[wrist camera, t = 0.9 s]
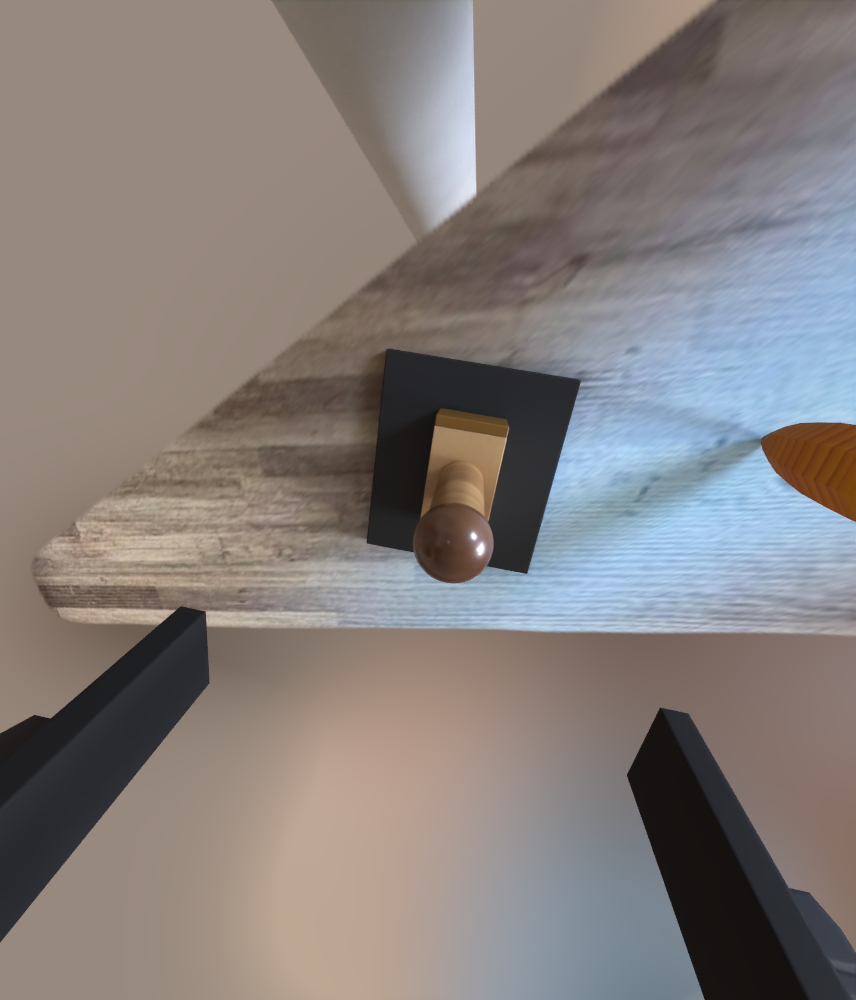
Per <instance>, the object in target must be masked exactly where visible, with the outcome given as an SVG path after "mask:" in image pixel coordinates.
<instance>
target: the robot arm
mask: <svg viewBox="0 0 856 1000" xmlns="http://www.w3.org/2000/svg"><path fill="white" fill-rule="evenodd" d="M208 684H209V665H208V646H207V628H206V612H205V611H200V610H196V609H191V608H186V607H179V608H178V609H177V610H176V611H175V612H174V613H173V614H171V615H170V616H169V617H168V618H167V619H166V620H164V621H163V622H162V623H161V624H160V625H159V626H158V627H156V628H155V629H154V630H153V631H152V632H151V633H150V634H148V635H147V636H146V637H145V638H144V639H143V640H141V641H140V642H139V643H138V644H137V645H136V646H134V647H133V648H132V649H131V650H130V651H129V652H127V653H126V654H125V655H124V656H123V657H122V658H120V659H119V660H118V661H117V662H116V663H115V664H114V665H112V666H111V667H110V668H109V669H108V670H107V671H105V672H104V673H103V674H102V675H101V676H100V677H99V678H97V679H96V680H95V681H94V682H93V683H92V684H90V685H89V686H88V687H87V688H86V689H85V690H83V691H82V692H81V693H80V694H79V695H78V696H77V697H75V698H74V699H73V700H72V701H71V702H70V703H68V704H67V705H66V706H65V707H64V708H63V709H61V710H60V711H59V712H58V713H57V714H56V715H54V716H53V717H52V718H51V719H50V718H45V717H41V716H36V715H34V716H32V717H30V718H28V719H26V720H24V721H23V722H21V723H19V724H17V725H15V726H13V727H12V728H10V729H8V730H6V731H4V732H2V733H0V942H1V941H2V940H3V938H4V937H5V936H6V934H7V933H8V932H9V931H10V930H11V928H12V927H13V926H14V925H15V923H16V922H17V921H18V920H19V919H20V917H21V916H22V915H23V914H24V912H25V911H26V910H27V909H28V907H29V906H30V905H31V904H32V902H33V901H34V900H35V899H36V897H37V896H38V895H39V894H40V892H41V891H42V890H43V889H44V888H45V886H46V885H47V884H48V883H49V881H50V880H51V879H52V878H53V876H54V875H55V874H56V873H57V871H58V870H59V869H60V868H61V866H62V865H63V864H64V863H65V861H66V860H67V859H68V858H69V857H70V855H71V854H72V853H73V851H74V850H75V849H76V848H77V847H78V845H79V844H80V843H81V841H82V840H83V839H84V838H85V837H86V835H87V834H88V833H89V832H90V830H91V829H92V828H93V827H94V825H95V824H96V823H97V822H98V820H99V819H100V818H101V817H102V815H103V814H104V813H105V812H106V811H107V809H108V808H109V807H110V806H111V804H112V803H113V802H114V801H115V799H116V798H117V797H118V796H119V794H120V793H121V792H122V791H123V790H124V788H125V787H126V786H127V785H128V783H129V782H130V781H131V780H132V778H133V777H134V776H135V775H136V773H137V772H138V771H139V770H140V768H141V767H142V766H143V765H144V763H145V762H146V761H147V760H148V758H149V757H150V756H151V755H152V753H153V752H154V751H155V750H156V749H157V747H158V746H159V745H160V744H161V742H162V741H163V740H164V739H165V737H166V736H167V735H168V734H169V732H170V731H171V730H172V729H173V728H174V726H175V725H176V724H177V723H178V721H179V720H180V719H181V717H182V716H183V715H184V714H185V713H186V711H187V710H188V709H189V708H190V706H191V705H192V704H193V703H194V701H195V700H196V699H197V698H198V696H199V695H200V694H201V693H202V692H203V690H204V689H205V688H206V687H207V685H208ZM627 777H628V780H629V783H630V786H631V789H632V792H633V794H634V797H635V800H636V803H637V806H638V809H639V812H640V815H641V817H642V820H643V823H644V826H645V829H646V832H647V835H648V838H649V840H650V843H651V846H652V849H653V852H654V855H655V858H656V861H657V864H658V866H659V869H660V872H661V875H662V878H663V881H664V883H665V887H666V890H667V892H668V895H669V898H670V901H671V904H672V907H673V910H674V912H675V915H676V918H677V921H678V924H679V927H680V930H681V933H682V936H683V938H684V941H685V944H686V947H687V950H688V953H689V956H690V959H691V962H692V964H693V967H694V970H695V973H696V976H697V979H698V982H699V985H700V987H701V990H702V993H703V996H704V999H705V1000H856V952H855V951H854V949H853V948H852V946H851V944H850V943H849V941H848V940H847V938H846V937H845V935H844V933H843V932H842V930H841V929H840V928H839V926H838V925H837V924H836V923H835V922H834V921H833V920H832V918H831V917H830V916H829V915H828V914H827V913H826V911H825V910H824V909H823V908H822V907H821V906H820V905H819V903H818V902H817V901H816V900H815V899H814V898H813V897H812V895H811V894H810V893H808V892H804V891H799V890H795V889H791V888H788V886H787V884H786V883H785V881H784V879H783V877H782V876H781V874H780V872H779V870H778V869H777V867H776V866H775V863H774V862H773V860H772V858H771V856H770V855H769V853H768V851H767V850H766V848H765V846H764V844H763V843H762V841H761V839H760V837H759V835H758V834H757V832H756V830H755V829H754V827H753V825H752V824H751V822H750V820H749V818H748V816H747V815H746V813H745V811H744V809H743V808H742V806H741V804H740V802H739V801H738V799H737V797H736V795H735V794H734V792H733V790H732V788H731V787H730V785H729V783H728V782H727V780H726V778H725V777H724V775H723V773H722V771H721V770H720V768H719V766H718V764H717V762H716V761H715V759H714V757H713V756H712V754H711V752H710V750H709V749H708V747H707V745H706V743H705V742H704V740H703V738H702V736H701V735H700V733H699V731H698V729H697V728H696V726H695V724H694V722H693V721H692V719H691V718H690V715H689V714H688V713H683V712H678V711H673V710H668V709H664V708H660V709H659V711H658V713H657V715H656V717H655V719H654V721H653V723H652V725H651V727H650V729H649V732H648V733H647V736H646V737H645V739H644V742H643V744H642V745H641V748H640V750H639V752H638V754H637V756H636V758H635V760H634V762H633V764H632V766H631V768H630V770H629V772H628V774H627Z"/></svg>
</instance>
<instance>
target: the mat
mask: <svg viewBox="0 0 856 1000" xmlns="http://www.w3.org/2000/svg"><path fill="white" fill-rule="evenodd" d="M580 382H581V380H578V379H573V378H566V377H560V376H554V375H548V374H542V373H536V372H529V371H523V370H517V369H511V368H505V367H498V366H492V365H486V364H480V363H474V362H468V361H461V360H455V359H449V358H443V357H437V356H431V355H424V354H418V353H412V352H406V351H400V350H393V349H387V351H386V361H385V370H384V380H383V390H382V399H381V409H380V419H379V429H378V438H377V448H376V458H375V467H374V477H373V487H372V496H371V506H370V516H369V526H368V535H367V543H368V544H373V545H378V546H383V547H389V548H394V549H399V550H404V551H410V552H414V550H413V536H414V531H415V528H416V526H417V524H418V522H419V520H420V517H421V510H422V504H423V497H424V491H425V484H426V478H427V471H428V465H429V458H430V452H431V446H432V439H433V433H434V426H435V420H436V415H437V413H438V411H439V410H440V408H443V409H449V410H455V411H461V412H467V413H473V414H479V415H485V416H491V417H497V418H503V419H506V420H507V423H508V425H509V431H508V435H507V437H506V438H507V440H506V444H505V449H504V453H503V458H502V462H501V466H500V471H499V475H498V480H497V484H496V489H495V493H494V498H493V502H492V507H491V511H490V516H489V520H488V523H489V525H490V527H491V530H492V534H493V540H494V546H493V553H492V556H491V559H490V561H489V563H488V564H487V566H489V567H494V568H499V569H504V570H510V571H515V572H520V573H526V574H527V573H528V569H529V566H530V562H531V558H532V555H533V551H534V548H535V544H536V540H537V537H538V533H539V530H540V526H541V522H542V519H543V515H544V512H545V508H546V504H547V501H548V497H549V494H550V490H551V486H552V483H553V479H554V476H555V472H556V468H557V465H558V461H559V458H560V454H561V450H562V447H563V443H564V440H565V436H566V432H567V429H568V425H569V422H570V418H571V414H572V411H573V407H574V404H575V400H576V396H577V393H578V389H579V386H580Z"/></svg>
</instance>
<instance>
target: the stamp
mask: <svg viewBox="0 0 856 1000" xmlns="http://www.w3.org/2000/svg"><path fill="white" fill-rule="evenodd" d="M508 431H509V425H508V423H507V420H506V419H503V418H497V417H491V416H485V415H479V414H473V413H467V412H461V411H455V410H449V409H443V408H440V410H439V411H438V413H437V415H436V420H435V426H434V433H433V439H432V446H431V452H430V458H429V465H428V471H427V478H426V484H425V491H424V497H423V504H422V510H421V517H420V520H419V522H418V524H417V526H416V528H415V531H414V536H413V550H414V554H415V557H416V559H417V561H418V563H419V565H420V566H421V568H422V569H423V570H424V571H425V572H426V573H427V574H428V575H430V576H431V577H433V578H434V579H436V580H439V581H441V582H445V583H462V582H465V581H468V580H471V579H473V578H474V577H476V576H477V575H479V574H480V573H481V572H482V571H483V570H484V569H485V567H486V566H487V564H488V563H489V561H490V559H491V556H492V553H493V546H494V540H493V534H492V530H491V527H490V525H489V523H488V520H489V516H490V511H491V507H492V502H493V498H494V493H495V489H496V484H497V480H498V475H499V471H500V466H501V462H502V458H503V453H504V449H505V444H506V440H507V438H506V437H507V435H508Z"/></svg>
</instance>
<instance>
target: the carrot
mask: <svg viewBox="0 0 856 1000" xmlns="http://www.w3.org/2000/svg"><path fill="white" fill-rule="evenodd" d="M761 445H762V449H763V451H764V453H765V455H766V457H767V459H768V461H769V463H770V464H771V466H772V467H773V469H774V470H775V472H776V473H777V474H778V475H779V476H781V477H782V478H783V479H784V480H785V481H786V482H787V483H789V484H790V485H791V486H792V487H794V488H795V489H796V490H798V491H799V492H800V493H801V494H803V495H805V496H807V497H808V498H810V499H812V500H814V501H816V502H818V503H819V504H821V505H823V506H825V507H827V508H829V509H831V510H833V511H835V512H837V513H839V514H841V515H843V516H845V517H847V518H849V519H851V520H853V521H855V522H856V425H851V424H844V423H799V424H795V425H791V426H786V427H783V428H781V429H779V430H776V431H774V432H771V433H769V434H768V435H766V436H764V437H763V439H762V442H761Z"/></svg>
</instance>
